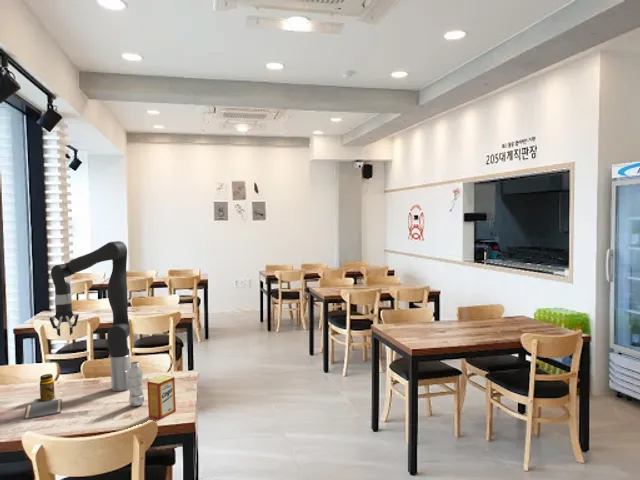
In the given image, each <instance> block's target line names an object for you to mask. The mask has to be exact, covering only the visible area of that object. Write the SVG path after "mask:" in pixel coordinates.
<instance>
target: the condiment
mask: <svg viewBox="0 0 640 480" xmlns="http://www.w3.org/2000/svg"><path fill="white" fill-rule="evenodd" d="M39 379H40V380H39V395H40V396H39V397H40V398H39V397H38V398H35V400H34V401H35V403H41V402H46V401H52V400H57V398H56V394H55V383H54V382H55V380H54V376H53V374H52V373H45V374H42V375H41V376H40V377H39Z"/></svg>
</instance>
